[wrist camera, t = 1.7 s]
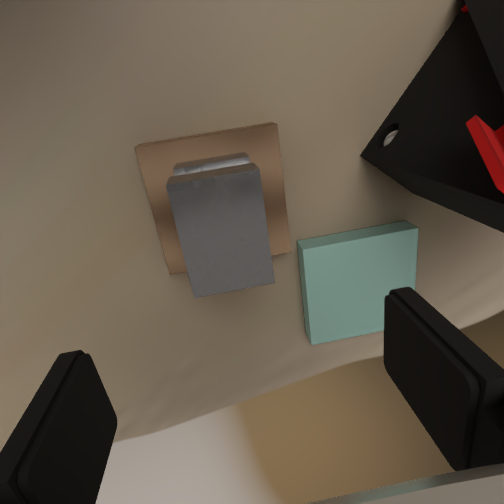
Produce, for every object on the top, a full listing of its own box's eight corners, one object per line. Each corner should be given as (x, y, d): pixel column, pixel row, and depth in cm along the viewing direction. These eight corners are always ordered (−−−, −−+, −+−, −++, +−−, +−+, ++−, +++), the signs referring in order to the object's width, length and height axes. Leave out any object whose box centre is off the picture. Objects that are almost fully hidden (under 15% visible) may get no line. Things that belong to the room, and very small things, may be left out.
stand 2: (296, 240, 30) (302, 249, 28) (405, 220, 31) (418, 228, 29) (305, 332, 34) (311, 345, 32) (401, 313, 35) (412, 324, 33)
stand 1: (139, 144, 25) (134, 147, 23) (271, 122, 26) (276, 123, 24) (172, 263, 29) (170, 274, 28) (285, 242, 30) (290, 252, 28)
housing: (175, 163, 24) (165, 185, 18) (245, 151, 25) (259, 168, 18) (196, 252, 27) (194, 298, 21) (258, 240, 27) (274, 282, 21)
